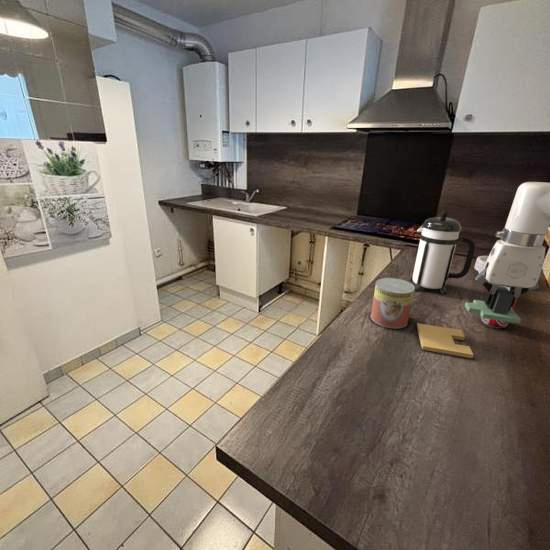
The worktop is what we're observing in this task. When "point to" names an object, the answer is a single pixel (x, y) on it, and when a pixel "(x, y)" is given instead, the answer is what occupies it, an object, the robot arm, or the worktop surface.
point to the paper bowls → (480, 263)
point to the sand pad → (442, 340)
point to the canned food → (392, 302)
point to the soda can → (496, 322)
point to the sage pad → (489, 314)
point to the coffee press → (439, 253)
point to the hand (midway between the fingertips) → (497, 306)
